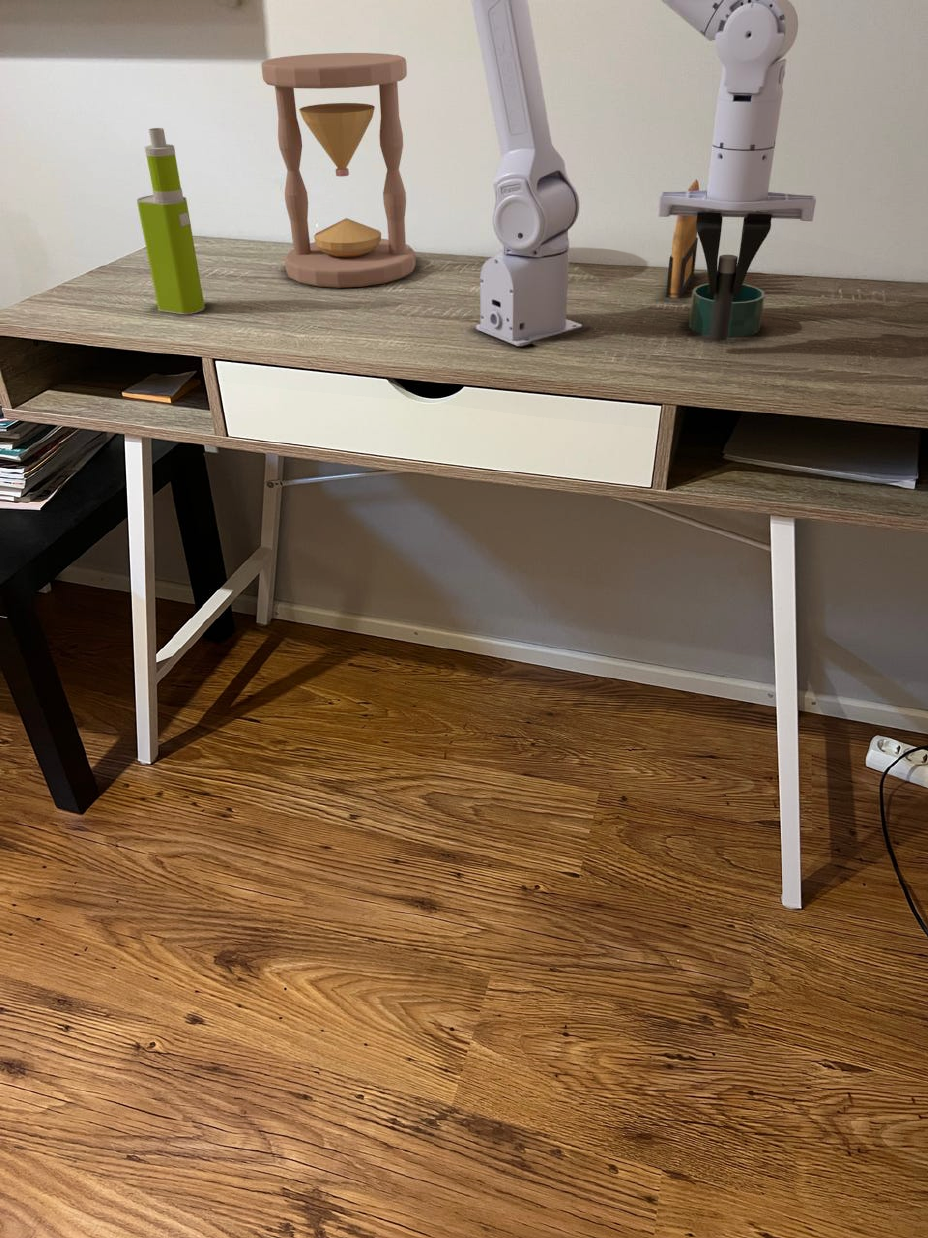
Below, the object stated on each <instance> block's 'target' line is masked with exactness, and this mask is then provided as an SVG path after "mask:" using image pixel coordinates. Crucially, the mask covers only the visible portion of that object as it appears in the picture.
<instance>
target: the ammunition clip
mask: <svg viewBox="0 0 928 1238" xmlns="http://www.w3.org/2000/svg"><path fill="white" fill-rule="evenodd" d="M686 191H700V186H699V181H698V179H695V180H694V182H692V184H691V185H690V186H689V188H687V190H686ZM696 221H697V216H680V215H676V221H675V228H674V231H673V235H672V246H671V253H670V254H671V255H670V256H669V259H668V269H667V279H666V289H665V298H668V297H669V298H675V299H676V298H678V299H681V298H682V297H683V295H684V293H685V292H686V290H687V288H688V286H689V285H690V283H691V281H692V279H693V277H694V275H695V271H696V270H695V268H696V260H697V250H698V241H699V237H698V233H697V229H696Z"/></svg>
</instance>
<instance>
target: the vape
mask: <svg viewBox="0 0 928 1238" xmlns="http://www.w3.org/2000/svg"><path fill="white" fill-rule="evenodd" d="M148 133H149V138H150V143H151V144H150V145H146V146H144V152H145V156H146V161H147V167H148V172H149V177H150V182H151V187H152V189H151V190H152V191H151V192H152V194H150V195H146V196H141V197H138V198H137V199H136V201H137V202H136V203H137V208H138V212H139V218H140V219H139V220H140V223H141V228H142V233H143V239H144V243H145V248H146V249H145V250H146V254H147V258H148V263H149V269H150V274H151V279H152V284H153V288H154V294H155V299H156V306H157V309H158V311H159V312H165V313H171V314H178V315H193V314H196V313H200V312H202V311H203V310H204V309H205V308H206V307H205V302H204V301H205V300H204V295H203V294H204V293H203V289H202V284H201V277H200V271H199V265H198V260H197V254H196V247H195V242H194V235H193V231H192V230H193V229H192V225H191V218H190V213H189V207H188V199H187V197H185V196H184V194H183V189H182V187H181V181H180V175H179V169H178V164H177V158H176V157H177V156H176V150H175V145H174V144H169V143H167V140H166V135H165V129H164V128H163V127H154V128H149V129H148Z"/></svg>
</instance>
